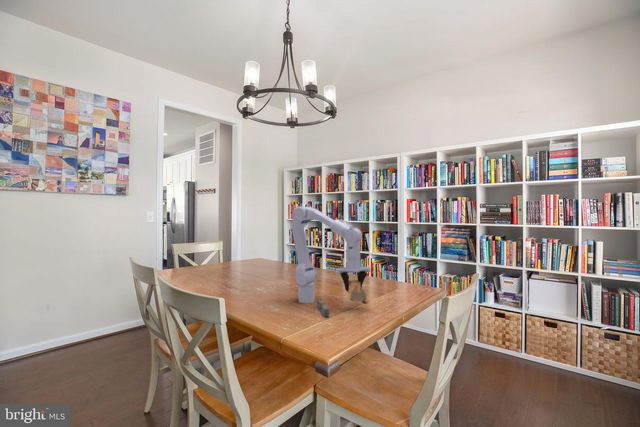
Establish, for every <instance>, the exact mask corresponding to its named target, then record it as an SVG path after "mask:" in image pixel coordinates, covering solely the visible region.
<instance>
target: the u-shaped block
mask: <svg viewBox="0 0 640 427" xmlns="http://www.w3.org/2000/svg"><path fill="white" fill-rule="evenodd" d="M348 286H349V289H348V291H346V292H347V293H348V294H351V293H352V290H353V289H354V290H355V291H356V292H357V293H361V282H359V281H358V279H353V280H351V279H350V280H349V282H348ZM353 286H354V288H353Z"/></svg>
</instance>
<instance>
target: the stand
mask: <svg viewBox="0 0 640 427" xmlns="http://www.w3.org/2000/svg"><path fill="white" fill-rule="evenodd" d="M316 300H317V301H316V306H317V308H318V309H319V311H320V312H321V314H322V316H323V318H324V319H330V310H329V308H328V306H327V305H326V304H325V303H324V302H323V300H322V299H321V298H317V299H316Z"/></svg>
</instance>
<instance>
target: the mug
mask: <svg viewBox="0 0 640 427" xmlns="http://www.w3.org/2000/svg"><path fill="white" fill-rule="evenodd" d="M350 298H351V300H352V301H353V302H354V301H355V302H361V303H364V302H365V301H366V299H367V292H366V290H365V289H364V288H361V293H357V292H356V291H355V290H354V288H352V293H350Z"/></svg>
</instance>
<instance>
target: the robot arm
mask: <svg viewBox="0 0 640 427" xmlns="http://www.w3.org/2000/svg"><path fill="white" fill-rule="evenodd" d="M291 214H292V215H291V216H292V221H291V232H292V237H293V242H294V248H295V254H296V258H297V266H296V268H295V277H294V278H295V282H296V283H297V286H298V292H297V293H298V294H297V298H298V303H301V304H312V303H314V302H315V283H316V280H317V279H318V273H317V271H316V269H315V266H314V264H313V263H312V262H311V259H310V258H311V257H310V253H309V249H308V242H307V238H306V232H305V227H306V226H307V225H308V223H310V222H312V221H313V220H316V221H318V222H320V223H322V224H324V225H326V226H327V227H329V228H330V231H331V232H333V233H335V234H336V235H338V236H340V237H342V238H343V239H344V241H345V244H346V245H345V246H346V248H345V249H346V251H345V252H346V253H345V254H346V255H345V256H346V257H345V258H346V259H345V263H346V264H345V266H344V267H337V268H335V274H337V275H340V277H341V279H342V281H343V285H344V290H345V291H346V292H347V291H348V289H349V286H348V282H349V279H350V275H349V274H353V273H355V274H356V275H357V280H358V281H359V282H361V288H362V287H363V285H364V284H363V283H364V281H365V278H366V277H367V273H371V267H370V266H361V240H362V238H363V232H362V231H361V230H360V229H359V227H353V225H351V224H347V223H345V222H344V219H333V218H331V217H330V216H328V215H326V214H324V213H323V212H322V211H320V210H318V209H317V208H315V207H312V206H296V207H295V209H293V211H292V213H291ZM362 289H363V288H362Z"/></svg>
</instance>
